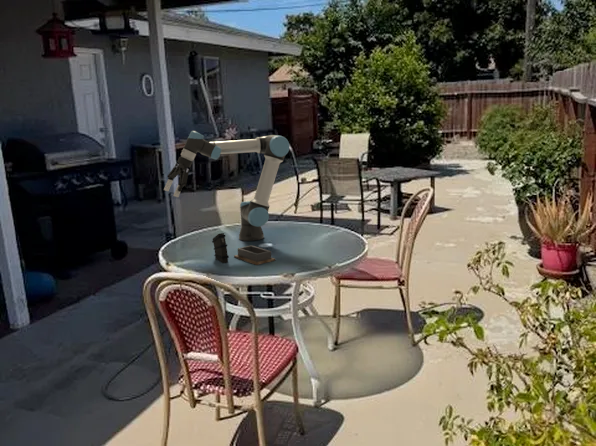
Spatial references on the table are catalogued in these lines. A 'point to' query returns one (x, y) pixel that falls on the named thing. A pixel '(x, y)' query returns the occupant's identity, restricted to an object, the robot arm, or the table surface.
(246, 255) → the cradle
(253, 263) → the board
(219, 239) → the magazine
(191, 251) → the table surface
